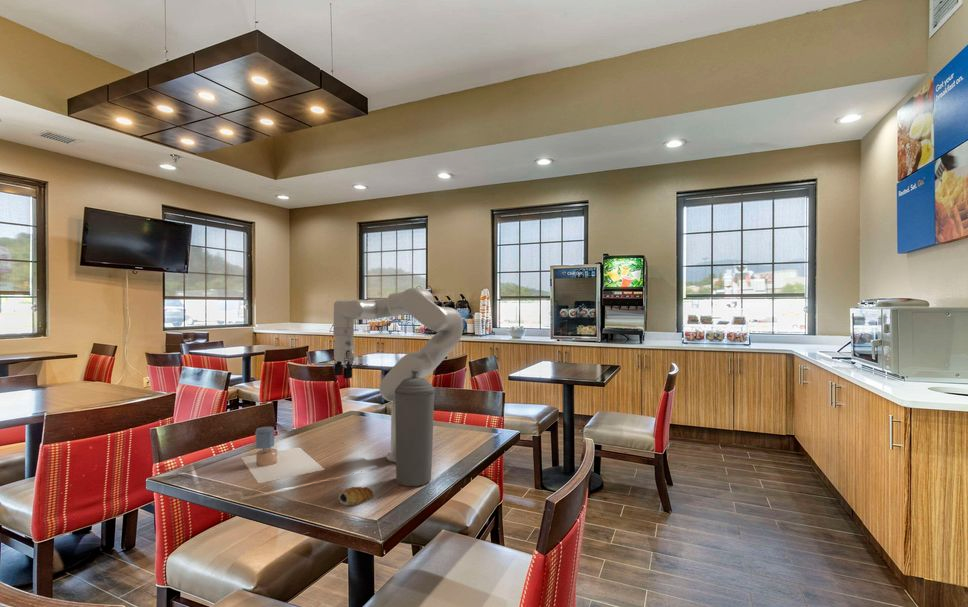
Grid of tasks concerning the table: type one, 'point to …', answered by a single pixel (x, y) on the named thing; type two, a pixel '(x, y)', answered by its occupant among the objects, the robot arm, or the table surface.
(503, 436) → the table surface
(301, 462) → the board
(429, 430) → the canister
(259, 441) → the cap
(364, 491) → the pastry
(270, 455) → the round stamp handle
